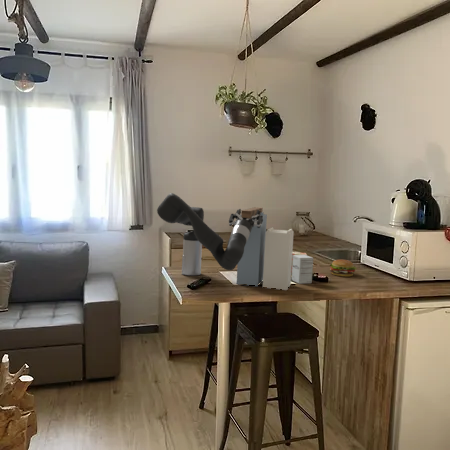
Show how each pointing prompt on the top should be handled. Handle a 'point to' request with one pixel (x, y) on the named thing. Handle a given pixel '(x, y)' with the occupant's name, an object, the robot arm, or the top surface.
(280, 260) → the end-cap post
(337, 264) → the food
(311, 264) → the supplement box
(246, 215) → the walnut slat
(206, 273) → the top surface
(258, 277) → the slate stand
